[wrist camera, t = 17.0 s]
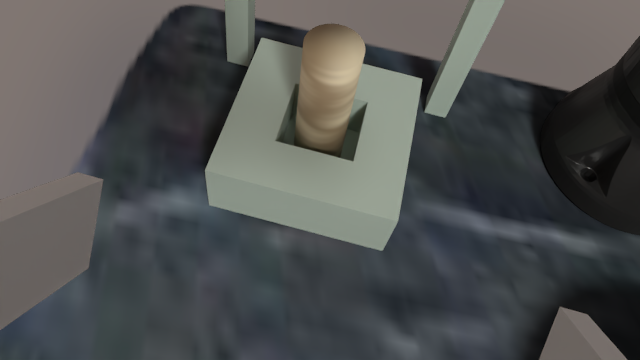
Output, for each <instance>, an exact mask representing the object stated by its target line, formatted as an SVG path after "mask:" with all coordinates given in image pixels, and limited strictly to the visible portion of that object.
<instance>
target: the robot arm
mask: <svg viewBox="0 0 640 360" xmlns="http://www.w3.org/2000/svg"><path fill="white" fill-rule="evenodd" d="M540 143H541V152H542V156H543V159H544V162H545V165H546V167H547V169H548V171H549V173H550V175H551V177H552V178H553V180H554V181H555V183H556V184H557V186H558V187H559V188H560V189H561V191H562V192H563V193H564V194H565V195H566V196H567V197H568V198H569V199H570V200H571V201H572V202H573V203H574V204H575V205H576V206H578V207H579V208H580V209H581V210H583V211H584V212H585V213H587V214H588V215H590V216H591V217H593V218H594V219H596V220H598V221H600V222H602V223H604V224H606V225H608V226H610V227H612V228H615V229H618V230H620V231H624V232H627V233H631V234H636V235H640V36H639V37H638V39H637V40H636V41H635V42H634V43H633V45H632V46H631V47H630V48H629V50H628V51H627V52H626V53H625V54H624V56H623V57H622V58H621V59H620V60H619V62H618V63H617V64H616V65H615V66H613V67H612V68H610V69H608V70H607V71H605V72H603V73H602V74H601V75H599V76H597V77H595V78H594V79H592V80H591V81H589V82H588V83H586V84H585V85H583V86H582V87H580V88H577V89H576V90H573V91H572V92H570V93H569V94H567V95H566V96H565V97H564V98H563V99H562V100H561V101H560V102H559V103H558V104H557V105H556V107H555V108H554V109H553V111H552V112H551V113H550V114H549V116H548V117H547V119H546V120H545V122H544V125H543V127H542V131H541V139H540ZM102 184H103V179H99V178H96V177H92V176H89V175H85V174H81V173H78V172H77V173H74V174H72V175H69V176H66V177H63V178H60V179H57V180H54V181H52V182H49V183H46V184H43V185H40V186H38V187H34V188H32V189H29V190H26V191H23V192H20V193H17V194H14V195H12V196H9V197H6V198H3V199H0V330H1V329H2V328H4V327H5V326H6V325H8V324H9V323H11V322H12V321H14V320H15V319H16V318H18V317H19V316H21V315H22V314H24V313H25V312H26V311H28V310H29V309H31V308H32V307H34V306H35V305H36V304H38V303H39V302H41V301H42V300H44V299H45V298H46V297H48V296H49V295H51V294H52V293H54V292H55V291H56V290H58V289H59V288H61V287H62V286H64V285H65V284H66V283H68V282H69V281H71V280H72V279H73V278H75V277H76V276H78V275H79V274H81V273H82V272H83V271H85V270H86V269H88V267H89V261H90V255H91V249H92V243H93V237H94V232H95V226H96V220H97V214H98V208H99V202H100V196H101V190H102ZM539 360H627V359H626V358H625V356H624V355H623V354H622V353H621V352H620V351H619V350H618V348H617V347H616V346H615V345H614V344H613V343H612V342H611V340H610V339H609V338H608V337H607V336H606V335H605V334H604V333H603V331H602V330H601V329H600V328H599V327H598V326H597V325H596V323H595V322H594V321H593V320H592V319H591V318H590V317H589V315H588V314H584V313H581V312H577V311H574V310H570V309H566V308H563V307H560V308H559V310H558V313H557V315H556V318H555V320H554V323H553V325H552V328H551V330H550V333H549V336H548V338H547V341H546V343H545V346H544V348H543V351H542V353H541V356H540V358H539Z"/></svg>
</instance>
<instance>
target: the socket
mask: <svg viewBox="0 0 640 360" xmlns="http://www.w3.org/2000/svg"><path fill="white" fill-rule="evenodd" d="M504 1H505V0H469V2H468V4H467V6H466V9H465V11H464V13H463V15H462V18H461V20H460V22H459V25H458V27H457V29H456V32H455V34H454V36H453V38H452V41H451V43H450V45H449V47H448V50H447V52H446V54H445V56H444V59H443V61H442V63H441V65H440V68H439V70H438V72H437V75H436V77H435V79H434V81H433V84H432V86H431V88H430V91H429V93H428V95H427V99H426V105H425V111H424V112H425V113H429V114H433V115H437V116H441V117H446V115H447V113H448V111H449V109H450V107H451V105H452V103H453V101H454V100H455V98H456V96H457V94H458V92H459V90H460V88H461V86H462V84H463V82H464V80H465V78H466V76H467V74H468V72H469V70H470V68H471V66H472V64H473V62H474V60H475V58H476V56H477V54H478V52H479V50H480V49H481V47H482V45H483V43H484V41H485V39H486V37H487V35H488V33H489V31H490V29H491V27H492V25H493V23H494V21H495V19H496V17H497V15H498V13H499V11H500V9H501V7H502V5H503V3H504ZM225 17H226V41H227V61H228V62H232V63H236V64H240V65H244V66H247V67H248V65H249V63H250V61H251V58H252V56H253V54H254V34H255V0H225ZM302 50H303V48H300V47H296V46H292V45H288V44H285V43H281V42H277V41H273V40H269V39H265V38H261V40H260V43H259V45H258V47H257V50H256V52H255V54H254V57H253V59H252V61H251V64H250V66H249V68H248V71H247V73H246V75H245V78H244V80H243V82H242V85H241V87H240V89H239V92H238V94H237V97H236V99H235V101H234V104H233V106H232V108H231V111H230V113H229V115H228V118H227V120H226V122H225V125H224V127H223V129H222V132H221V134H220V136H219V139H218V141H217V143H216V146H215V148H214V150H213V153H212V155H211V157H210V160H209V162H208V164H207V167H206V169H205V176H206V184H207V192H208V201H209V205H211V206H215V207H218V208H222V209H226V210H230V211H233V212H237V213H241V214H245V215H249V216H252V217H256V218H260V219H264V220H267V221H271V222H275V223H279V224H282V225H286V226H290V227H294V228H298V229H301V230H305V231H309V232H313V233H316V234H320V235H324V236H328V237H332V238H335V239H339V240H343V241H347V242H350V243H354V244H358V245H362V246H365V247H369V248H373V249H377V250H381V251H383V249H384V247H385V245H386V243H387V241H388V239H389V238H390V236H391V234H392V232H393V230H394V228H395V226H396V224H397V222H398V219H399V213H400V207H401V201H402V195H403V190H404V184H405V178H406V172H407V166H408V160H409V155H410V149H411V143H412V137H413V131H414V125H415V120H416V114H417V108H418V102H419V96H420V90H421V85H422V79H421V78H417V77H413V76H409V75H405V74H401V73H397V72H393V71H390V70H386V69H382V68H378V67H374V66H370V65H366V64H362V67H361V72H360V76H359V80H358V84H357V89H356V93H355V97H354V101H353V106H352V110H351V114H350V118H349V123H348V127H347V131H346V135H345V140H344V144H343V148H342V152H341V156H340V158H338V157H335V156H331V155H327V154H323V153H319V152H315V151H312V150H308V149H304V148H300V147H296V146H294V137H295V126H296V115H297V104H298V94H299V83H300V72H301V61H302Z"/></svg>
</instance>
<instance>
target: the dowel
mask: <svg viewBox="0 0 640 360" xmlns="http://www.w3.org/2000/svg"><path fill="white" fill-rule="evenodd" d="M364 55H365V44H364V42H363V40H362V38H361V37H360V36H359V34H357V33H356V32H355V31H354V30H352V29H350V28H348V27H346V26H342V25H339V24H324V25H319V26H317V27H315V28H313V29H312V30H310V31H309V32H308V33H307V34H306V36H305V38H304V41H303V50H302V61H301V72H300V83H299V94H298V104H297V115H296V126H295V137H294V146H296V147H300V148H304V149H308V150H312V151H315V152H319V153H323V154H327V155H331V156H335V157H338V158H340V156H341V152H342V148H343V144H344V140H345V135H346V131H347V127H348V123H349V118H350V114H351V110H352V106H353V101H354V97H355V93H356V89H357V84H358V80H359V76H360V72H361V67H362V63H363V59H364Z"/></svg>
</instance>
